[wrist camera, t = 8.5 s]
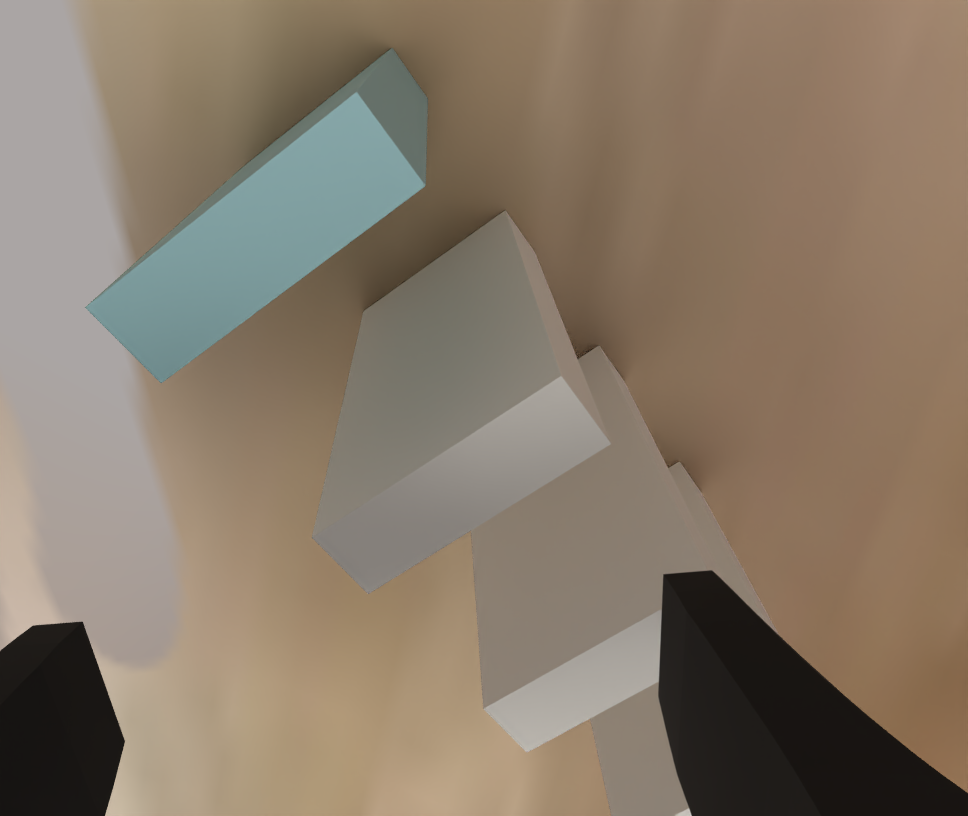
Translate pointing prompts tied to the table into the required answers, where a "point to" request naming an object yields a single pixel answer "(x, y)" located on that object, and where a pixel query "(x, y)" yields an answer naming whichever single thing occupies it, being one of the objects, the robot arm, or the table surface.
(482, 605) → the domino
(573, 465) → the domino
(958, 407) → the table surface
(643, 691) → the domino
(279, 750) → the table surface
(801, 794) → the robot arm
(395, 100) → the teal domino
